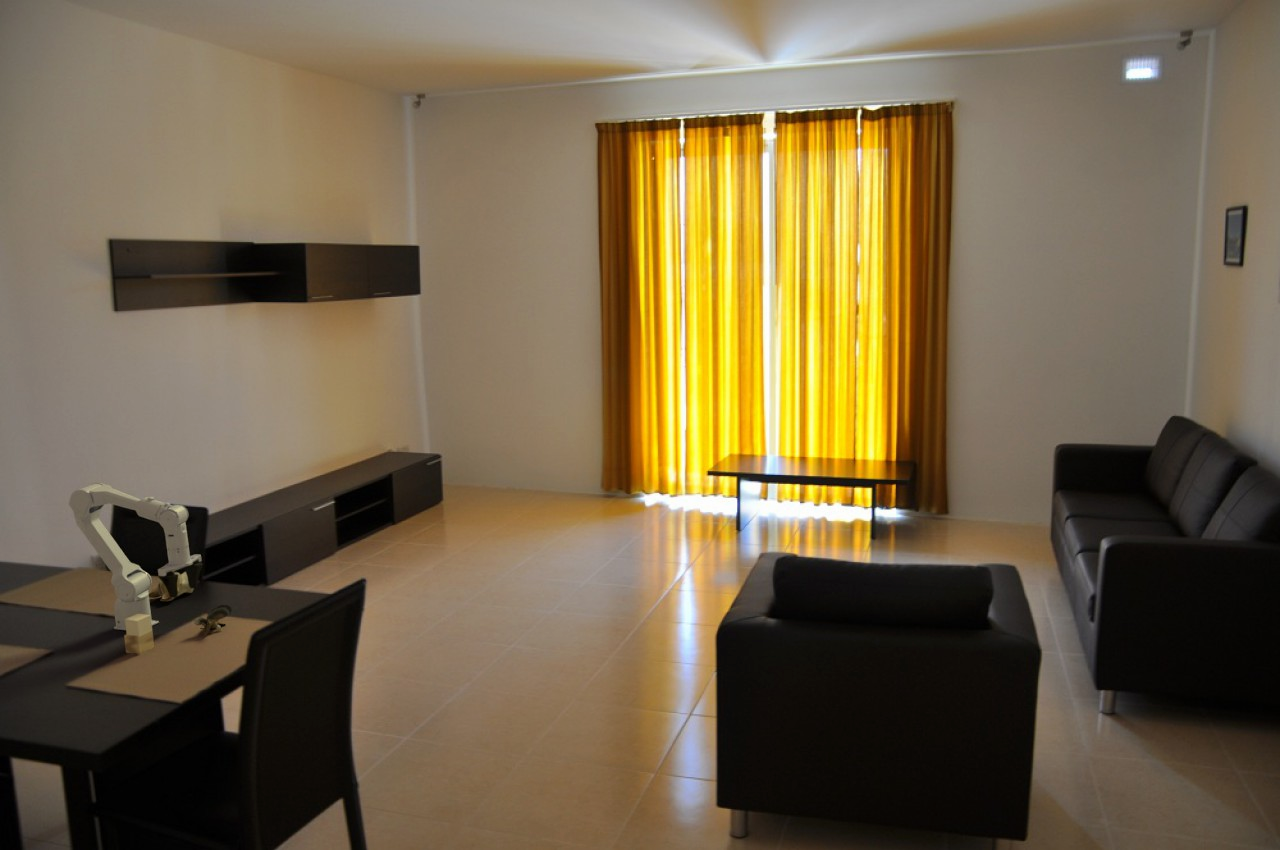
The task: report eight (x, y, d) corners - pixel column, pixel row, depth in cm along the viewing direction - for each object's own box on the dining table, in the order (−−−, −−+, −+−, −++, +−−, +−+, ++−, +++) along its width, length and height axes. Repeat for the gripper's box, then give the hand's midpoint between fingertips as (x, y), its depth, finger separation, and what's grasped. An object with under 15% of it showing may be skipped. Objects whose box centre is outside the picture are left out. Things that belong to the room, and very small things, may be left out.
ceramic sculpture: (201, 566, 332) (158, 582, 320) (205, 592, 334) (163, 609, 322) (180, 562, 338) (138, 578, 326) (185, 587, 340) (143, 604, 328)
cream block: (126, 634, 286) (124, 619, 285) (140, 628, 290) (138, 613, 289) (139, 636, 284) (137, 620, 283) (152, 630, 288) (150, 615, 287)
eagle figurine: (225, 632, 296) (239, 614, 305) (206, 612, 294) (221, 595, 303) (205, 645, 298) (219, 627, 307) (186, 626, 296) (201, 608, 305)
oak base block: (126, 652, 286) (124, 635, 285) (140, 646, 291) (138, 628, 290) (140, 654, 284) (137, 637, 284) (154, 647, 289) (152, 630, 288)
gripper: (169, 555, 292) (175, 601, 295) (207, 540, 306) (212, 585, 308) (149, 553, 295) (156, 599, 297) (188, 539, 308) (194, 583, 310)
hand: (183, 592), depth 303 cm, fingers open, 7 cm apart
